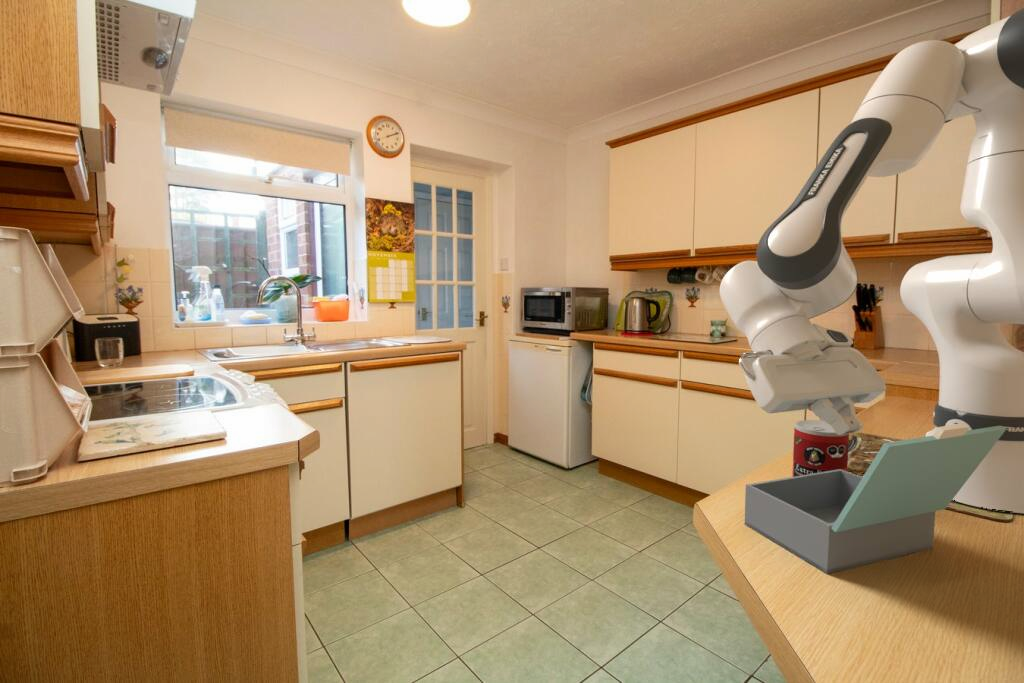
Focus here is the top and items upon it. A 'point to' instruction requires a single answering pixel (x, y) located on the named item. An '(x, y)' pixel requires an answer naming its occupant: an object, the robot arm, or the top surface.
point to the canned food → (818, 448)
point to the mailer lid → (917, 475)
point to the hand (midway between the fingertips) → (851, 431)
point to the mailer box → (829, 522)
